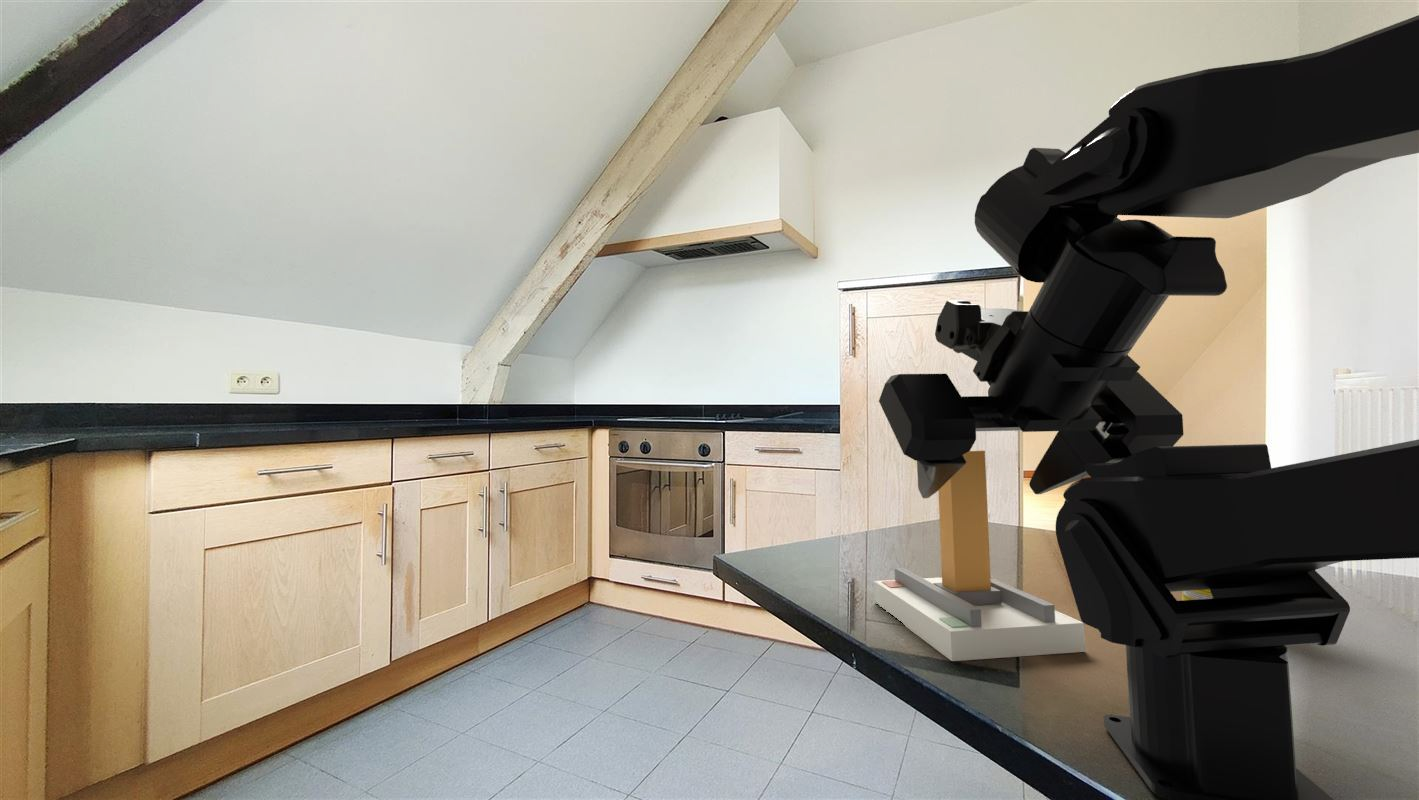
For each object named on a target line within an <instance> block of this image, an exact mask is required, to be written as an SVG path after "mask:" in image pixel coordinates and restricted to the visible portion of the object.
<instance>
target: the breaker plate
mask: <svg viewBox="0 0 1419 800" xmlns="http://www.w3.org/2000/svg"><path fill="white" fill-rule="evenodd" d="M933 583H942V576H941V577H926V578H924V577H921V576H919V575H917V574H916V573H914V572H912V571H910V570H908V569H906V568H904V567H894V579H887V580H873V586H874V587H873V591H874V592H873V595H874V596H873V597H874V601H875V600H876V601H877V602H878V603H879V604H880V605H882V606H883V607H884V608H885V609H886V610H887V611H888V612H889V613H891V614H892V615H893V616H894V617H896V618H897V619H898V620H899V621H901V622H902V623H903V624H904V625H905V627H906V628H907V629H908V630H910V631H911V632H913V633H914V634H915V635H916V636H917V637H919V638H920V639H921V640H923V641H924V642H926V643H927V644H928V645H929V646H931V647H932V648H934V649H935V650H936V651H938V652H939V654H941V655H943V657H946V658H947V659H948V660H949V661H951V662H958V661H959V662H961V661H972V660H973V661H974V660H975V661H976V660H986V659H987V660H989V659H1000V658H1002V659H1003V658H1016V657H1017V658H1018V657H1030V656H1043V655H1045V656H1046V655H1058V654H1072V653H1074V654H1075V653H1085V652H1086V640H1085V639H1086V638H1085V636H1086V635H1085V624H1084V623H1083V622H1082V620H1081V621H1080V620H1079V619H1076V618H1073V617H1071V616H1069V615H1067V614H1064V613H1062V612H1060V611H1058V610H1056V608H1055V604H1053V603H1050V602H1049V601H1047V600H1044V599H1041V598H1039V597H1037V596H1035V595H1032V594H1031V593H1027V592H1025V591H1023V590H1020V589H1018V588H1017V587H1013V586H1011V585H1008V584H1006V583H1005V582H1002V581H999V580H997V579H994V578H993V577H991V587H994V588H996V589H998V590H1000V591H1001V604H988V605H972V604H970V603H968V602H966V601H964V600H963V599H961V598H959V597H957V596H955V595H953V594H951V593H949V592H948V591H946V590H944V589H942V588H940V587H938V586H936V585H934V584H933ZM894 617H893V618H894ZM898 620H897V621H898ZM899 621H898V622H899ZM902 623H901V624H902ZM903 624H902V625H903ZM904 625H903V626H904Z"/></svg>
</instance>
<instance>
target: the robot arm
mask: <svg viewBox="0 0 1419 800" xmlns="http://www.w3.org/2000/svg"><path fill="white" fill-rule="evenodd" d="M1415 154H1419V14H1417V15H1415V16H1413V17H1410V18H1408V19H1407V18H1406V19H1404V20H1402V21H1399V22H1397V23H1394V24H1391V25H1389V26H1386V27H1383V28H1381V29H1378V30H1375V31H1372V32H1370V33H1367V34H1365V35H1362V36H1359V37H1357V38H1354V39H1352V40H1349V41H1346V42H1343V43H1340V44H1338V45H1335V46H1333V47H1332V46H1331V47H1330V48H1328V49H1324V50H1320V51H1315V52H1310V53H1305V54H1302V55H1298V56H1292V57H1289V58H1288V57H1287V58H1283V59H1274V60H1268V61H1258V62H1250V63H1242V64H1237V65H1234V64H1233V65H1229V66H1219V67H1214V68H1213V67H1211V68H1206V69H1202V70H1198V71H1194V72H1190V73H1189V72H1188V73H1185V74H1180V75H1176V76H1173V77H1168V78H1164V79H1163V78H1162V79H1161V80H1155V81H1152V82H1147V83H1143V84H1141V85H1139V86H1136V87H1135V88H1133V89H1132V90H1130V91H1128V92H1127V93H1125V94H1124V95H1122V96H1121V97H1120V98H1119V99H1118V100H1116V102H1115V103H1114V104H1113V105H1112V106H1111V107H1110V109H1109V110H1108V117H1106V118H1105V119H1103V121H1101V122H1100V123H1098V125H1097V126H1096V127H1094V128H1093V129H1092V130H1091V131H1090V132H1089V133H1087V134H1086V135H1084V137H1082V138H1081V139H1080V140H1079V141H1078V142H1076V144H1075V145H1073V146H1072V147H1071V148H1070V149H1068V150H1067V151H1066V152H1065V151H1064V150H1062V149H1060V148H1050V147H1048V148H1047V147H1046V148H1045V147H1031V148H1030V149H1029V150H1028V152H1027V154H1026V157H1025V160H1024V162H1023V164H1022V165H1020V166H1018V167H1016V168H1013V169H1011V170H1009V171H1008V172H1006V173H1005V174H1003V175H1002V176H1000V177H999V178H998V179H997V180H996V181H995V182H994V183H993V184H992V185H990V187H989V188H988V189H987V191H986V192H985V193H984V194H982V195H981V196H980V198H979V200H978V202H977V205H976V209H975V213H974V225H975V228H976V229H975V230H976V232H977V233H978V234H979V236H980V237H981V238H982V240H984V241H985V243H987V245H989V246H990V247H991V248H992V250H994V252H996V253H997V254H998V255H999V256H1000V257H1001V258H1002V259H1003V260H1004V261H1005V262H1006V263H1007V264H1008V265H1009V266H1010V267H1011V268H1012V269H1014V270H1013V271H1015V272H1016V273H1017V274H1018V275H1019V276H1020V277H1022V278H1023V279H1025V280H1026V281H1029V282H1032V283H1040V284H1041V283H1042V285H1041V287H1040V289H1039V290H1038V293H1037V295H1036V297H1035V299H1034V301H1033V303H1032V305H1031V306H1030V308H1029V309H1028V311H1026V310H1025V311H1024V310H1018V309H1011V308H982V307H981V305H979V304H977V303H971V301H969V300H946V302H945V304H944V305H943V307H942V309H941V312H940V314H939V315H938V318H937V322H936V326H935V332H934V335H935V339H936V341H937V342H938V343H939V344H941V345H943V346H945V347H947V348H948V349H949V350H950V349H951V350H953V352H955V353H957V354H963V355H965V356H967V357H969V358H970V359H972V360H974V361H975V362H976V363H975V366H974V367H973V370H972V372H973V373H974V375H975V376H976V378H977V379H978V380H979V381H980V382H981V383H983V382H985V383H986V382H987V384H988V385H989V387H988V390H987V395H986V396H985V395H984V396H983V395H981V396H980V395H979V396H977V395H976V396H975V395H974V396H972V395H971V396H970V395H968V396H966V395H964V396H961V394H960V392H959V391H958V389H957V388H956V386H955V384H954V383H953V381H952V380H951V379H950V376H949V375H948V373H899V374H894V375H890V376H889V378H888V379H887V380H886V381H885V383H884V385H883V388H882V390H881V391H882V392H881V394H880V397H879V399H878V402H879V405H880V407H881V409H882V412H883V413H884V415H885V417H886V419H887V421H888V424H889V425H890V428H891V431H892V432H893V434H894V436H895V438H896V440H897V443H898V444H899V447H900V449H901V451H902V453H903V455H905V456H906V457H908V458H910V459H912V460H914V461H916V468H917V471H916V472H917V473H916V474H917V488H918V491H919V493H920V496H921V497H922V498H923V499H929V498H931V497H932V496H933V495H934V494H936V493H937V492H938V490H939V489H940V488H941V487H942V486H943V485H944V484H945V483H946V482H947V481H948V480H949V479H950V478H951V477H952V476H953V475H954V474H956V473H957V472H958V471H959V470H960V469H961V468H962V467H963V466H964V465H965V464H966V460H965V459H964V457H963V454H965V453H967V452H969V451H970V450H972V447H973V446H974V443H976V440H977V432H1002V431H1003V432H1006V431H1007V432H1008V431H1009V432H1010V431H1011V432H1012V431H1022V433H1027V432H1028V433H1030V432H1031V433H1034V432H1035V433H1037V432H1039V433H1041V432H1057V433H1055V437H1053V440H1052V441H1051V443H1050V444H1049V445H1048V447H1047V450H1046V451H1045V453H1044V454H1043V456H1042V457H1041V459H1040V461H1039V463H1038V464H1037V466H1036V468H1035V469H1034V472H1033V473H1032V476H1031V479H1030V480H1029V483H1028V485H1029V487H1030V489H1031V490H1032V492H1033V493H1034V494H1035V495H1042V494H1043V495H1044V494H1045V493H1048V492H1051V491H1053V490H1055V489H1058V488H1060V487H1063V486H1066V485H1069V484H1070V485H1069V486H1068V487H1067V488H1066V489H1065V490H1064V492H1063V494H1062V495H1063V499H1065V500H1064V503H1063V505H1062V506H1061V507H1060V509H1059V510H1058V513H1057V516H1056V520H1055V535H1056V536H1055V537H1056V540H1057V544H1058V546H1059V547H1058V548H1059V551H1060V554H1061V557H1062V560H1063V565H1064V568H1065V571H1066V574H1067V578H1068V581H1069V583H1070V587H1071V591H1072V595H1073V597H1074V601H1075V605H1076V607H1077V611H1078V615H1079V617H1080V620H1081V622H1083V623H1084V625H1086V626H1089V627H1092V628H1094V629H1096V630H1098V631H1099V633H1100V638H1101V639H1103V640H1105V641H1107V642H1110V643H1113V644H1118V645H1121V646H1122V645H1124V646H1125V657H1126V671H1127V672H1126V673H1127V674H1126V675H1127V676H1126V677H1127V692H1128V693H1127V695H1128V707H1129V708H1128V710H1129V712H1128V713H1129V716H1124V715H1115V714H1105V715H1104V716H1103V725H1104V727H1105V730H1107V732H1108V733H1109V734H1110V736H1111V737H1112V738H1113V739H1114V742H1115V743H1116V744H1117V745H1118V747H1119V748H1120V749H1121V751H1122V752H1123V753H1124V756H1125V757H1126V758H1127V759H1128V760H1129V762H1130V763H1131V765H1132V766H1133V767H1134V769H1135V770H1136V771H1137V772H1138V774H1139V775H1140V777H1141V778H1142V780H1143V782H1144V783H1145V784H1146V785H1147V786H1148V788H1149V789H1150V791H1151V792H1152V793H1154V794H1155V795H1156V796H1157V797H1159V798H1161V799H1164V800H1335V799H1334V798H1332V797H1331V796H1330V795H1329V794H1328V793H1326V792H1325V791H1324V790H1323V789H1322V788H1321V787H1319V786H1318V785H1317V784H1316V783H1315V782H1313V781H1312V780H1311V779H1310V778H1309V777H1307V776H1306V775H1305V774H1304V773H1303V772H1301V771H1300V770H1299V769H1298V768H1297V764H1296V752H1295V750H1296V749H1295V737H1294V736H1295V735H1294V724H1293V723H1294V721H1293V708H1292V707H1293V706H1292V694H1291V682H1290V681H1291V680H1290V666H1289V665H1290V664H1289V654H1288V652H1289V651H1288V647H1290V646H1291V647H1294V646H1297V647H1298V646H1308V645H1309V646H1310V645H1318V646H1323V647H1325V646H1333V645H1334V646H1335V645H1336V644H1337V643H1338V641H1339V639H1340V636H1341V634H1342V631H1343V629H1344V626H1345V624H1346V622H1347V619H1348V617H1349V614H1350V612H1351V607H1350V604H1349V602H1348V601H1347V600H1346V599H1345V598H1344V597H1343V596H1342V595H1341V594H1340V592H1339V591H1338V590H1336V589H1335V588H1334V587H1333V586H1332V585H1331V584H1330V583H1329V582H1328V581H1327V580H1326V579H1325V578H1324V577H1322V576H1321V574H1320V573H1318V572H1317V571H1316V570H1318V569H1321V568H1325V567H1327V566H1331V565H1334V564H1338V563H1342V562H1353V561H1355V562H1357V561H1372V560H1373V561H1375V560H1377V561H1378V560H1380V561H1381V560H1395V559H1396V560H1398V559H1399V560H1400V559H1419V439H1415V440H1413V439H1412V440H1409V441H1405V442H1404V441H1403V442H1400V443H1398V442H1397V443H1393V444H1388V445H1383V446H1378V447H1372V448H1369V449H1363V450H1357V451H1353V452H1348V453H1342V454H1337V455H1334V456H1333V455H1332V456H1327V457H1321V458H1317V459H1312V460H1308V461H1307V460H1305V461H1303V462H1297V463H1292V464H1286V465H1280V466H1277V467H1272V465H1271V458H1270V454H1269V448H1268V445H1267V444H1266V443H1256V444H1255V443H1253V444H1216V445H1210V444H1209V445H1182V446H1181V445H1180V446H1179V445H1175V444H1176V443H1178V442H1179V440H1181V438H1182V437H1183V436H1184V423H1183V421H1184V419H1183V418H1184V417H1183V414H1182V413H1181V412H1180V411H1179V410H1178V409H1177V408H1176V407H1175V406H1174V405H1173V404H1172V403H1171V402H1170V401H1168V399H1167V398H1166V397H1165V396H1164V395H1162V393H1160V391H1158V390H1157V389H1156V388H1155V386H1153V385H1152V384H1151V383H1150V382H1149V381H1148V380H1147V379H1146V378H1145V377H1144V376H1143V375H1142V374H1140V372H1139V370H1140V368H1141V366H1140V365H1139V364H1138V363H1137V362H1136V361H1135V360H1134V359H1133V358H1132V357H1131V356H1129V354H1130V352H1131V350H1132V349H1133V348H1134V346H1135V344H1136V343H1137V341H1139V339H1140V337H1142V335H1143V333H1144V331H1146V329H1147V328H1148V326H1149V324H1150V323H1151V322H1152V320H1153V319H1154V317H1155V316H1156V315H1157V313H1158V312H1159V311H1160V309H1161V308H1162V307H1163V305H1164V304H1165V302H1166V301H1167V299H1168V297H1170V296H1171V297H1172V296H1178V297H1179V296H1182V297H1183V296H1184V297H1185V296H1188V297H1189V296H1191V297H1192V296H1193V297H1194V296H1197V297H1202V296H1205V297H1218V296H1220V295H1223V294H1224V293H1225V292H1227V291H1226V290H1227V288H1228V284H1227V279H1226V275H1225V270H1224V268H1223V267H1222V266H1221V264H1220V262H1219V259H1218V258H1217V253H1216V246H1217V241H1216V239H1215V238H1214V237H1211V236H1174V235H1172V234H1171V233H1169V232H1168V231H1166V230H1165V229H1163V228H1161V227H1160V226H1158V225H1156V224H1155V223H1152V222H1151V221H1148V220H1143V219H1137V218H1136V219H1124V220H1123V219H1122V220H1121V219H1120V218H1118V216H1139V217H1140V216H1141V217H1164V218H1165V217H1170V218H1171V217H1172V218H1173V217H1174V218H1198V219H1199V218H1202V219H1231V218H1235V217H1240V216H1242V215H1246V214H1249V213H1252V212H1256V211H1258V210H1261V209H1262V210H1263V209H1264V208H1267V207H1271V206H1274V205H1278V204H1280V203H1283V202H1287V201H1290V200H1292V199H1296V198H1299V197H1300V198H1301V197H1302V196H1305V195H1309V194H1312V193H1313V192H1315V191H1317V190H1319V189H1320V188H1322V187H1323V186H1325V185H1327V184H1329V183H1331V182H1333V181H1334V180H1336V179H1338V178H1339V177H1341V176H1343V175H1345V174H1347V173H1350V172H1353V171H1356V170H1359V169H1363V168H1365V167H1368V166H1371V165H1374V164H1377V163H1381V162H1382V161H1387V160H1390V159H1396V158H1399V157H1406V156H1411V155H1415ZM1208 589H1210V591H1211V594H1212V596H1213V599H1199V600H1177V599H1176V597H1175V596H1174V595H1173V594H1172V593H1173V592H1182V591H1192V590H1208Z"/></svg>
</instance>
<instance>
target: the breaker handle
mask: <svg viewBox="0 0 1419 800" xmlns="http://www.w3.org/2000/svg"><path fill="white" fill-rule="evenodd" d="M963 457H964V459H965V460H966V464H965V465H964V466H963V467H962V468H961V469H960V470H959V471H958V472H957V473H956V474H954V475H953V476H952V477H951V478H950V479H949V480H948V481H947V482H946V483H945V484H944V485H943V486H942V487H941V488H940V489H939V490H938V491H937V492H938V511H939V512H938V514H939V537H940V558H941V559H940V561H941V562H940V563H941V577H942V583H933V584H934V585H936V586H938V587H940V588H942V589H944V590H946V591H948V592H949V593H951V594H953V595H955V596H957V597H959V598H961V599H963V600H964V601H966V602H968V603H970V604H972V605H988V604H1001V591H1000V590H998V589H996V588H994V587H991V578H992V576H991V558H990V557H991V556H990V539H989V538H990V534H989V516H988V515H989V513H988V510H989V509H988V491H987V488H988V487H987V466H986V451H985V450H979V449H978V450H977V449H971V450H970V451H969V452H967V453H965V454H963Z"/></svg>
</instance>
